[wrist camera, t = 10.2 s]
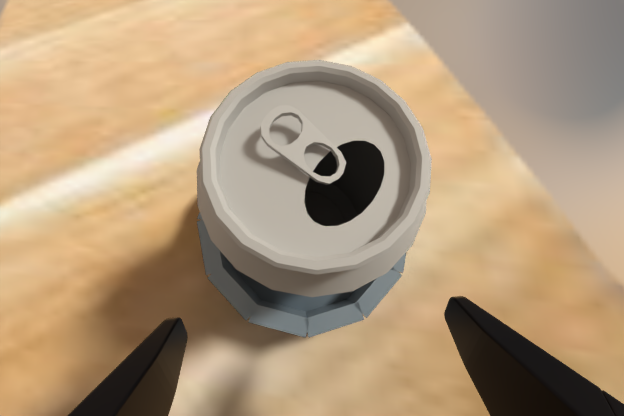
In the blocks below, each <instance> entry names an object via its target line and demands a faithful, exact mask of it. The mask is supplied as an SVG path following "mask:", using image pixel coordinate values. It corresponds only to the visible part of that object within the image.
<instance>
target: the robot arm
mask: <svg viewBox="0 0 624 416" xmlns="http://www.w3.org/2000/svg"><path fill="white" fill-rule="evenodd" d="M444 315H445V320H446V322H447V325H448V327H449V330H450V332H451V335H452V337H453V339H454V342H455V344H456V347H457V349H458V351H459V354H460V356H461V359H462V361H463V363H464V365H465V367H466V369H467V371H468V373H469V375H470V377H471V379H472V381H473V383H474V385H475V387H476V389H477V391H478V393H479V395H480V396H481V398H482V400H483V402H484V404H485V406H486V408H487V410H488V412H489V414H490V416H624V404H623V403H621V402H620V401H618V400H617V399H615V398H614V397H612V396H611V395H609V394H608V393H606V392H605V391H601V389H600V388H599V387H597V386H596V385H594V384H593V383H592V382H590V381H589V380H587V379H586V378H584V377H583V376H581V375H580V374H578V373H577V372H575V371H574V370H572V369H571V368H569V367H568V366H566V365H565V364H563V363H562V362H560V361H559V360H557V359H556V358H554V357H553V356H551V355H550V354H549V353H547V352H546V351H544V350H543V349H541V348H540V347H538V346H537V345H535V344H534V343H532V342H531V341H529V340H528V339H526V338H525V337H523V336H522V335H520V334H519V333H517V332H516V331H514V330H513V329H511V328H510V327H509V326H507V325H506V324H504V323H503V322H501V321H500V320H498V319H497V318H495V317H494V316H492V315H491V314H489V313H488V312H486V311H485V310H483V309H482V308H480V307H479V306H477V305H476V304H474V303H473V302H471V301H470V300H468V299H467V298H465V297H463V296H457V297H451V298H450V299H449V302H448V304H447V307H446V310H445V314H444ZM186 343H187V332H186V329H185V327H184V324H183V322H182V319H181V318H168V319H166V320H164V321H163V322H162V323H161V324H160V325H159V326H158V327H157V328H156V329H155V330H154V331H153V332H152V333H151V334H150V335H149V336H148V337H147V338H146V339H145V340H144V341H143V342H142V343H141V344H140V345H139V346H138V347H137V348H136V349H135V350H134V351H133V352H132V353H131V354H130V355H129V356H128V357H127V358H126V359H124V360H123V361H122V362H121V363H120V364H119V365H118V366H117V367H116V368H115V369H114V370H113V371H112V372H111V373H110V374H109V375H108V376H107V377H106V378H105V379H104V380H103V381H102V382H101V383H100V384H99V385H98V386H97V387H96V388H95V389H94V390H93V391H92V392H91V393H90V394H89V395H88V396H87V397H86V398H85V399H84V400H83V401H82V402H81V403H80V404H79V405H78V406H77V407H76V408H75V409H74V410H73V411H72V412H71V413H70V414H69V415H68V416H168V414H169V411H170V408H171V405H172V402H173V399H174V395H175V392H176V388H177V384H178V379H179V375H180V370H181V366H182V361H183V357H184V352H185V348H186Z"/></svg>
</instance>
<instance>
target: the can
mask: <svg viewBox="0 0 624 416" xmlns="http://www.w3.org/2000/svg"><path fill="white" fill-rule="evenodd" d="M431 160H432V159H431V156H430V152H429V149H428V145H427V141H426V138H425V134H424V131H423V128H422V126H421V125H420V123H419V122H418V120H417V118H416V117H415V115H414V114H413V112H412V111H411V109H410V108H409V106H408V105H407V103H406V102H405V101H404V100H403V99H402V98H401V97H400V96H399V95H397V94H396V93H395V92H394V91H393V90H392V89H390V88H389V87H388V86H387V85H386V84H385V83H383V82H382V81H381V80H380V79H377V78H375V77H373V76H371V75H369V74H367V73H365V72H363V71H361V70H358V69H356V68H354V67H352V66H348V65H343V64H338V63H332V62H327V61H322V60H313V61H298V62H286V63H284V64H281V65H278V66H275V67H272V68H269V69H266V70H263V71H260V72H258V73H256V74H254V75H253V76H251V77H250V78H248V79H247V80H246V81H244V82H243V83H241V84H240V85H239V86H237V87H236V88H234V89H233V90H231V91H230V92H229V93H228V95H227V96H226V97H225V99H224V100H223V101H222V103H221V104H220V105H219V107H218V108H217V109H216V111H215V112H214V113H213V115H212V116H211V117H210V120H209V123H208V126H207V129H206V132H205V135H204V138H203V141H202V144H201V147H200V162H199V165H198V168H197V200H198V208H199V211H200V213H201V216H202V218H203V221H204V223H205V226H206V228H207V231H208V234H209V236H210V239H211V241H212V242H213V243H214V244H215V245H216V247H217V248H218V249H219V250H220V251H221V252H222V253H223V255H224V256H225V257H226V258H227V259H228V260H229V261H230V263H231V264H232V265H233V266H234V267H235V268H236V270H238V271H240V272H241V273H243V274H245V275H247V276H249V277H250V278H252V279H254V280H256V281H257V282H259V283H261V284H263V285H264V286H266V287H268V288H270V289H271V290H276V291H281V292H287V293H292V294H297V295H303V296H308V297H318V296H324V295H331V294H338V293H344V292H351V291H354V290H356V289H358V288H360V287H361V286H363V285H365V284H367V283H369V282H371V281H373V280H375V279H377V278H378V277H380V276H382V275H384V274H386V273H387V272H388V271H389V270H390V269H391V268H392V267H393V266H394V265H395V264H396V263H397V262H398V260H399V259H400V258H401V257H402V256H403V255H404V254H405V253H406V252H407V251H408V249H409V248H410V247H411V246H412V245H413V242H414V240H415V237H416V235H417V233H418V230H419V228H420V225H421V223H422V221H423V218H424V216H425V213H426V200H427V198H428V195H429V193H430V178H431Z"/></svg>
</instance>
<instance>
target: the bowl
mask: <svg viewBox="0 0 624 416" xmlns="http://www.w3.org/2000/svg"><path fill="white" fill-rule="evenodd" d="M197 219H199V220H200V221H197V225H198V231H199V237H200V243H201V249H202V255H203V261H204V266H205V272H206V275H210V276H209V277H208V279H209V280H210V281H211V283H212V284H213V285H214V286H215V287H216V288H217V289H218V290H219V291H220V293H221V294H222V295H223V296H224V297H225V298H226V299H227V300H228V301H229V303H230V304H231V305H232V306H233V307H234V308H235V309H236V310H237V311H238V313H239V314H240V315H241V316H242V317H243V318H244V319H245V320H247V319H248V318H249V317H250V319H249V323H253V324H257V325H261V326H264V327H268V328H272V329H275V330H279V331H283V332H287V333H290V334H294V335H298V336H302V337H305V338H306V334H307V333H308V337H312V336H315V335H318V334H321V333H324V332H327V331H330V330H334V329H337V328H340V327H343V326H346V325H349V324H352V323H355V322H358V321H361V320H364V318H363V316H364V317H366V318H367V317H368V316H369V314H370V313H371V312H372V311H373V310H374V308H375V307H376V306H377V305H378V304H379V302H380V301H381V300H382V299H383V298H384V296H385V295H386V294H387V293H388V292H389V290H390V289H391V288H392V287H393V286H394V284H395V283H396V282H397V281H398V280H399V278H400V277H401V276H402V275H401V274H400V273H403V270H404V263H405V256H406V253H405V254H404V255H403V256H402V257H401V258H400V259H399V260H398V262H397V263H396V264H395V265H394V266H393V267H392V268H391V269H390V270H389V271H388V272H387V273H386V274H384V275H382V276H380V277H378V278H377V279H375V280H373V281H371V282H369V283H367V284H365V285H363V286H361V287H360V288H358V289H356V290H354V291H351V292H344V293H338V294H331V295H324V296H318V297H308V296H303V295H297V294H292V293H287V292H281V291H276V290H271V289H270V288H268V287H266V286H264V285H263V284H261V283H259V282H257V281H256V280H254V279H252V278H250V277H249V276H247V275H245V274H243V273H241V272H240V271H238V270H236V268H235V267H234V266H233V265H232V264H231V263H230V261H229V260H228V259H227V258H226V257H225V256H224V255H223V253H222V252H221V251H220V250H219V249H218V248H217V247H216V245H215V244H214V243H213V242H212V241H211V239H210V236H209V234H208V231H207V228H206V226H205V223H204V221H203V218H202V216H201V213H199V215H198V218H197Z"/></svg>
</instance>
